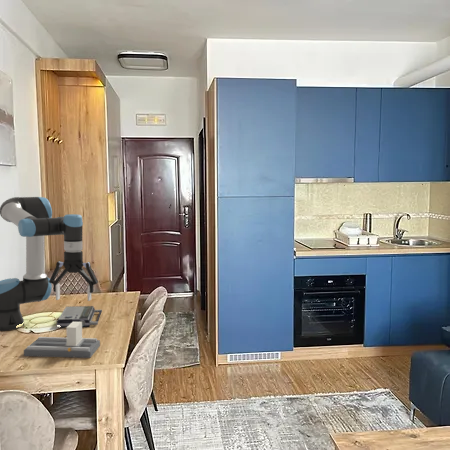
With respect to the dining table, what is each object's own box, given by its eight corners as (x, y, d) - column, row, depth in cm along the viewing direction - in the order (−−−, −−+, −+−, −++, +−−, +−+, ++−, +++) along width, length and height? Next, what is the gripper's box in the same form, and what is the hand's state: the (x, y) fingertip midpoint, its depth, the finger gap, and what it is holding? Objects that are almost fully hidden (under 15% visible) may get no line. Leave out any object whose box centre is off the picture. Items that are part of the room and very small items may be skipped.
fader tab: (64, 347, 192) (64, 327, 192) (70, 341, 200) (70, 321, 200) (78, 348, 192) (78, 327, 192) (84, 341, 200) (84, 321, 199)
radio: (64, 305, 249) (102, 304, 252) (64, 314, 249) (102, 313, 253) (55, 318, 225) (97, 317, 228) (55, 329, 226) (97, 328, 229)
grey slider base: (23, 356, 190) (23, 347, 189) (37, 344, 204) (37, 336, 203) (90, 357, 190) (90, 349, 189) (99, 345, 204) (99, 337, 203)
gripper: (40, 251, 189) (41, 301, 191) (100, 253, 189) (100, 302, 191) (47, 248, 197) (48, 296, 199) (105, 250, 196) (105, 298, 198)
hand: (73, 299), depth 195 cm, fingers open, 13 cm apart
